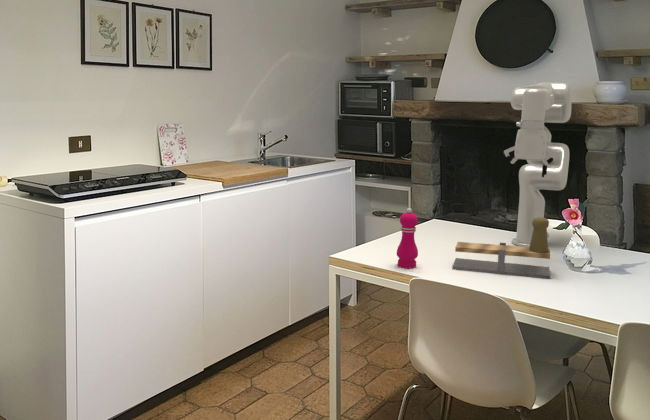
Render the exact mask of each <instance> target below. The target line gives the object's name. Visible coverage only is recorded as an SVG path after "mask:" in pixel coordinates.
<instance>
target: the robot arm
mask: <svg viewBox="0 0 650 420" xmlns="http://www.w3.org/2000/svg"><path fill="white" fill-rule="evenodd" d="M572 93H573V92H572V89H571V86H570V84H568V83H567V82H553V81H552V82H547V81H542V82H538V83H536V84H531V85H524V86H517V87H516V88H514V89H513V90H512V92H511V95H510V104H511V105H510V106H511V108H512V109H513V110H517V111H521V115H520V116H521V119H520V121H516V127H519V128H520V129H518V130H517V133H516V138H515V143H514V146H511V147H509V148H507V149H505V150H503V155H504V156H505V157H506V159H507V161H508V162H509V163H510V165H511V166H510V173H511V174H512V176H516V165H517V164H516V162H517V161H518V160H526V162H527V164H524V165H522V166H521V167H520V168H519V171H518V183H519V199H518V201H519V202H518V214H517V225H516V226H517V227H516V237H515V238H512V239H511V243H512V244H513V245H514V246H523V247H530V243H531V238H532V233H533V228H534V227H533V226H532V221H533V219H534V218H538V217H542V218H545V207H546V201H545V197H544V196H543V194H542V193H541V192H540V190H547V191H562V190H564V189H565V188H566V187H567V182H568V175H569V174H568V173H569V166H570V165H569V163H570V148H569V146H568V145H567V144H565V143H562V142H561V143H560V142H552V134H551V131H550V130H549V129H548V127H546V126H545V123H552V124H553V123H559V124H564V123H567V122H569V120H570V118H571V115H572V104H573V103H572V101H573V99H572V98H573V94H572ZM513 151H514V157H511V156H510V154H509V153H511V152H513ZM549 237H550V234H549V232H547V238H549Z"/></svg>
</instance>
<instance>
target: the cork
mask: <svg viewBox="0 0 650 420" xmlns="http://www.w3.org/2000/svg"><path fill="white" fill-rule="evenodd" d="M532 226H533V227H534V228H533V233H532V238H531V243H530V248H529V251H531V252H535V253H547V252H548V248H549V243H548V242H549V241H548V237H547V233H548V230H547V229H548V227H549V226H550V221H549V220H548V218H546V217H544V218H542V217H538V218H534V219H533V221H532Z"/></svg>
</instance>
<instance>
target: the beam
mask: <svg viewBox="0 0 650 420" xmlns="http://www.w3.org/2000/svg"><path fill="white" fill-rule="evenodd" d="M529 248H530V247H523V246H518V245H509V244H508V245H507V244H506V245H500V244H495V243H494V244H493V243H491V244H490V243H479V242H466V241H465V242H464V241H457V243H456V245H455V249H454V251H455V252H458V253H468V254H469V253H470V254H483V255H496V256H498V253H499V249H502V250H505V257H522V258H534V259H535V258H536V259H547V260H550V259H551V249H550V248H549V247H548V252H547V253H535V252H531V251H529Z"/></svg>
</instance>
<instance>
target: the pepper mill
mask: <svg viewBox="0 0 650 420" xmlns="http://www.w3.org/2000/svg"><path fill="white" fill-rule="evenodd" d="M418 222H419V219H418V216H417V215H416V214H415V213H413V209H412V208H410V207H408V208H406V212H404V213H402V214H401V215H400V217H399V223H400V225H401V227H400V231H401V239H400V243H399V245H398V246H397V250H396V256H397V258H398V260H397V266H398V267H399V268H402V269H413V268H416V267H417V261H416V259H417V258H418V256H419V251H418V247H417V244H416V241H415V233H416V231H417V230H416V229H417V227H416V226H417V225H418Z"/></svg>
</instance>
